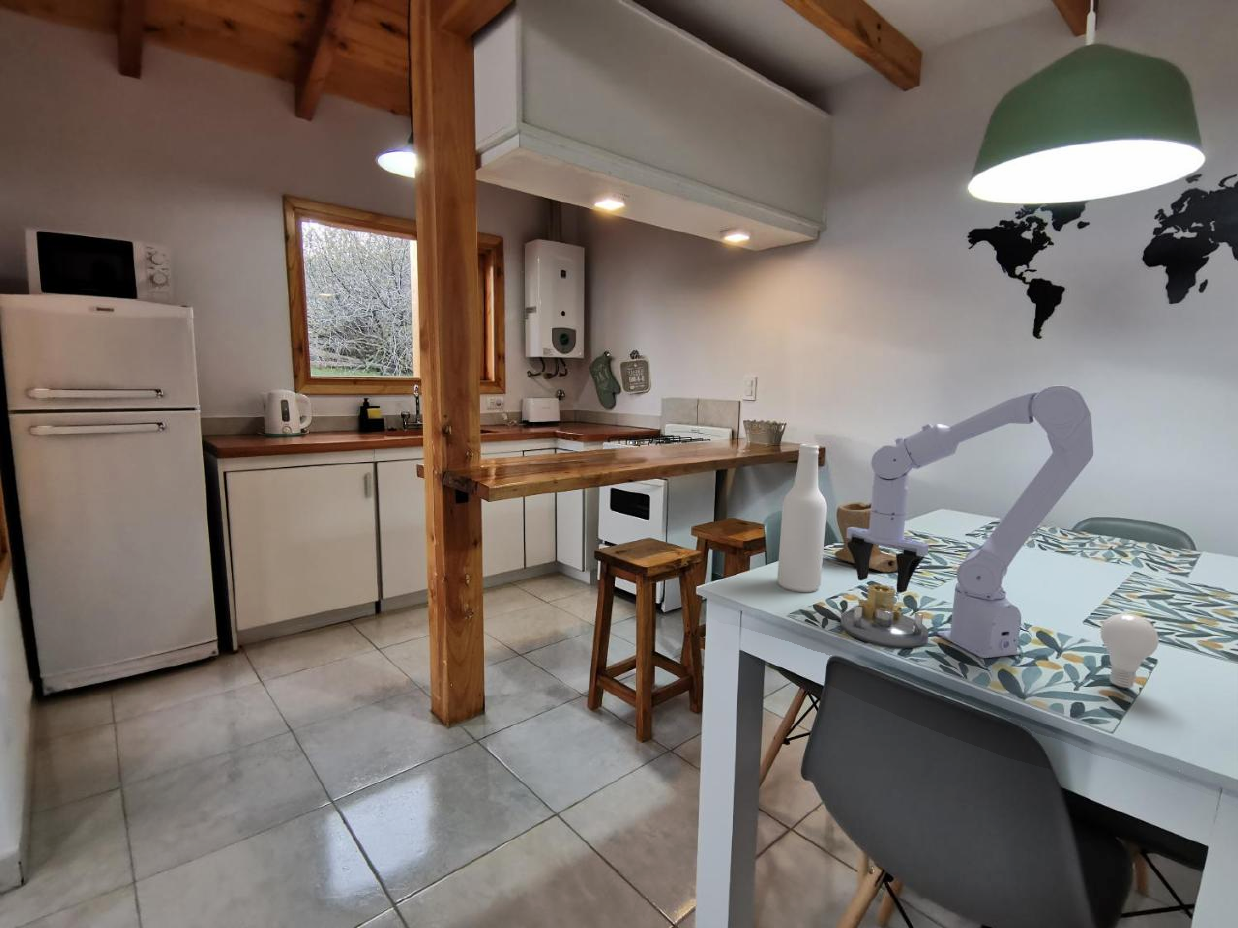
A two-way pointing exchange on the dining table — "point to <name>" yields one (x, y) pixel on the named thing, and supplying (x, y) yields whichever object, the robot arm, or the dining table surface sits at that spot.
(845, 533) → the stone cup
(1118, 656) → the lightbulb
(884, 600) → the planet gear
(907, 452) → the robot arm
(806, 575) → the alcohol
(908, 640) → the carrier
